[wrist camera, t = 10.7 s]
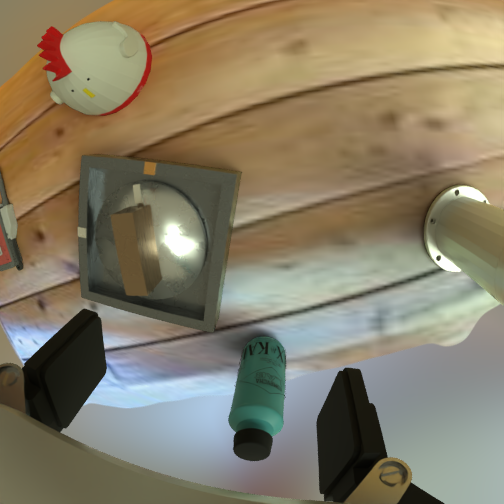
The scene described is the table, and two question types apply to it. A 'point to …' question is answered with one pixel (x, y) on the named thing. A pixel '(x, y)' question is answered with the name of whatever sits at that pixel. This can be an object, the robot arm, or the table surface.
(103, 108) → the kitchen timer
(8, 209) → the walkie-talkie
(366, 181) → the table surface
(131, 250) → the dial
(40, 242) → the table surface
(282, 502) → the robot arm
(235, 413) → the beverage bottle
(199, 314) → the dial housing
